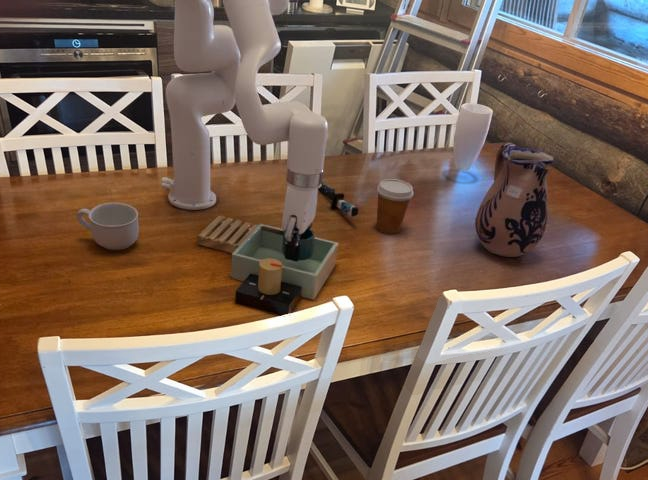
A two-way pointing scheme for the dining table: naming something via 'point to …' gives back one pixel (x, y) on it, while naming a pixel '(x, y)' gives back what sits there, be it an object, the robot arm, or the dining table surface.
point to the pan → (305, 241)
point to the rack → (225, 234)
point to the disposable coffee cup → (392, 204)
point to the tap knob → (270, 276)
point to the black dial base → (268, 296)
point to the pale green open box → (285, 260)
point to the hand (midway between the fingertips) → (297, 251)
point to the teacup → (112, 225)
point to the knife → (338, 200)
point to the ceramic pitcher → (515, 202)
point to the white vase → (470, 134)
